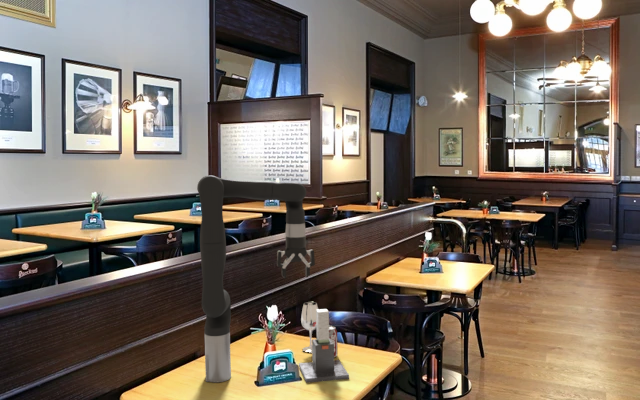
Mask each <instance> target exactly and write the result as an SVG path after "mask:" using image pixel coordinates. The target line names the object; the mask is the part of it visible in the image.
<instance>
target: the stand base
mask: <svg viewBox="0 0 640 400" xmlns="http://www.w3.org/2000/svg"><path fill="white" fill-rule="evenodd" d="M311 360H312V361H311V362H310V361H309V362H299V363H298V368H299V367H300V368H299V370H300V372H301V375H302V376H303V377H302V378H303V379H304V380H305V381H304V382H305V383H306V384H308V383H319V382H328V381H329V382H330V381H340V380H350V374H349V373H348V371H347V370H346V368H345V367H344V365H343V363H342V362H341V361H340V359H335V357H334V343H333V342H332V340H331V339H330V338H329V344H317V338H316V339H313V338H312V353H311Z"/></svg>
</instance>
